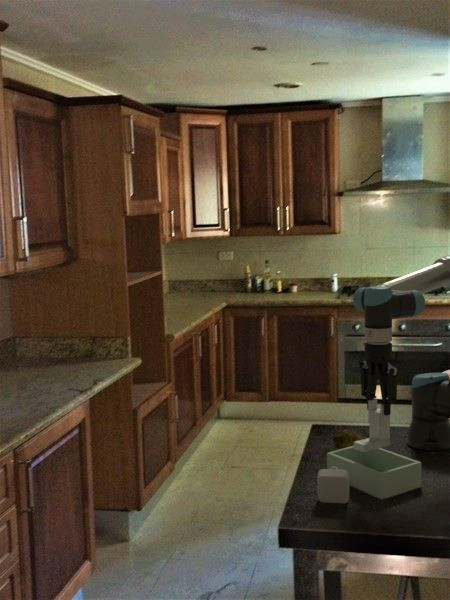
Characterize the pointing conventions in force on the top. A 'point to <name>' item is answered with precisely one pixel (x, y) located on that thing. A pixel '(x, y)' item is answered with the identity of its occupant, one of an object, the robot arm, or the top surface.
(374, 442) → the grey l-shaped block
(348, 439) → the potato
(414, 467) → the open box
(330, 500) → the wall hook
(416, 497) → the top surface
